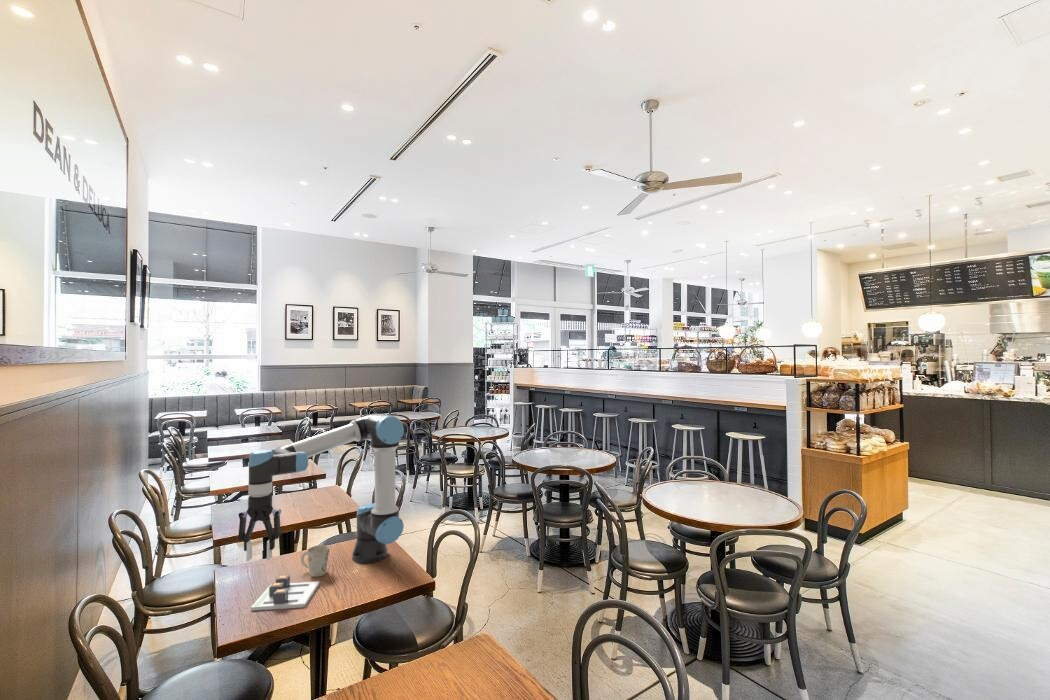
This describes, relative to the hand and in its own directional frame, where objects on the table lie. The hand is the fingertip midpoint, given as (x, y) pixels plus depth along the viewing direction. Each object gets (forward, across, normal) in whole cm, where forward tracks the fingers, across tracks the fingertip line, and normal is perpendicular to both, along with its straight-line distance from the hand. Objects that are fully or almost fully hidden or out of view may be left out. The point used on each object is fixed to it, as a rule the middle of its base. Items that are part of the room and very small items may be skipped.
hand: (259, 558), depth 166 cm
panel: (+17, -8, -6) cm, 19 cm away
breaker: (+15, -8, 0) cm, 17 cm away
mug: (+17, -11, -26) cm, 33 cm away
